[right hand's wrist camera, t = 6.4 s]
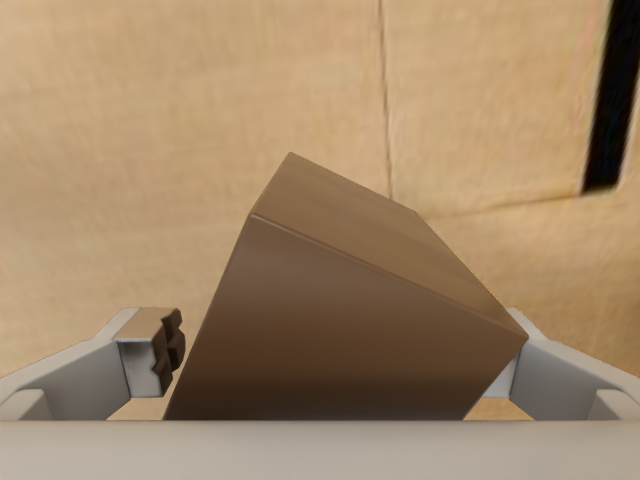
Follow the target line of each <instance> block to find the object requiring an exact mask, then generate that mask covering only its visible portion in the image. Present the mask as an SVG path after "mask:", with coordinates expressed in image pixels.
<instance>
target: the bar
mask: <svg viewBox="0 0 640 480" xmlns="http://www.w3.org/2000/svg"><path fill="white" fill-rule="evenodd" d="M528 339H529V335H528V333H527V332H526V331H525V330H524V329H523V328H522V327H521V326H520V325H519V324H518V322H517V321H516V320H515V319H514V318H513V317H512V316H511V315H510V314H509V313H508V312H507V310H506V309H505V308H504V307H503V306H502V305H501V304H500V303H499V302H498V301H497V300H496V298H495V297H494V296H493V295H492V294H491V293H490V292H489V291H488V290H487V289H486V288H485V287H484V285H483V284H482V283H481V282H480V281H479V280H478V279H477V278H476V277H475V276H474V275H473V273H472V272H471V271H470V270H469V269H468V268H467V267H466V266H465V265H464V264H463V263H462V262H461V260H460V259H459V258H458V257H457V256H456V255H455V254H454V253H453V252H452V251H451V250H450V248H449V247H448V246H447V245H446V244H445V243H444V242H443V241H442V240H441V239H440V238H439V237H438V235H437V234H436V233H435V232H434V231H433V230H432V229H431V228H430V227H429V226H428V225H427V223H426V222H425V221H424V220H423V219H422V218H421V217H420V216H419V215H418V214H417V213H416V212H415V211H413V210H411V209H409V208H407V207H405V206H403V205H401V204H399V203H396V202H394V201H392V200H390V199H388V198H386V197H384V196H382V195H380V194H378V193H376V192H374V191H371V190H369V189H367V188H365V187H363V186H361V185H359V184H357V183H355V182H353V181H351V180H349V179H346V178H344V177H342V176H340V175H338V174H336V173H334V172H332V171H330V170H328V169H326V168H324V167H321V166H319V165H317V164H315V163H313V162H311V161H309V160H307V159H305V158H303V157H301V156H299V155H296V154H294V153H292V152H289V153H288V154H287V156H286V157H285V159H284V161H283V162H282V164H281V165H280V167H279V168H278V170H277V171H276V173H275V174H274V176H273V177H272V179H271V180H270V182H269V183H268V185H267V186H266V188H265V189H264V191H263V193H262V194H261V196H260V197H259V199H258V200H257V202H256V203H255V205H254V206H253V208H252V209H251V211H250V212H249V214H248V216H247V218H246V221H245V223H244V225H243V228H242V230H241V233H240V235H239V237H238V240H237V242H236V244H235V247H234V249H233V252H232V254H231V256H230V259H229V261H228V263H227V266H226V268H225V271H224V273H223V275H222V278H221V280H220V283H219V285H218V287H217V290H216V292H215V294H214V297H213V299H212V302H211V304H210V306H209V309H208V311H207V313H206V316H205V318H204V321H203V323H202V325H201V328H200V330H199V332H198V335H197V337H196V340H195V342H194V344H193V347H192V349H191V351H190V354H189V356H188V359H187V361H186V363H185V366H184V368H183V370H182V373H181V375H180V378H179V380H178V382H177V385H176V387H175V389H174V392H173V394H172V397H171V399H170V401H169V404H168V406H167V408H166V411H165V413H164V416H163V418H162V420H256V421H303V420H463V419H464V418H465V417H466V415H467V414H468V413H469V412H470V410H471V409H472V408H473V407H474V406H475V404H476V403H477V402H478V401H479V399H480V398H481V397H482V396H483V394H484V393H485V392H486V391H487V390H488V388H489V387H490V386H491V385H492V383H493V382H494V381H495V380H496V379H497V377H498V376H499V375H500V374H501V372H502V371H503V370H504V369H505V367H506V366H507V365H508V364H509V363H510V361H511V360H512V359H513V358H514V356H515V355H516V354H517V353H518V352H519V350H520V349H521V348H522V347H523V345H524V344H525V343H526V342H527V340H528Z"/></svg>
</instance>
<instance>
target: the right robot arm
mask: <svg viewBox="0 0 640 480" xmlns="http://www.w3.org/2000/svg"><path fill="white" fill-rule="evenodd" d="M504 308H505V309H506V310H507V312H508V313H509V314H510V315H511V316H512V317H513V318H514V319H515V320H516V321H517V322H518V324H519V325H520V326H521V327H522V328H523V329H524V330H525V331H526V332H527V333H528V335H529V339H528V340H527V342H526V343H525V344H524V345H523V347H522V348H521V349H520V350H519V352H518V353H517V354H516V355H515V356H514V358H513V359H512V360H511V361H510V363H509V364H508V365H507V366H506V367H505V369H504V370H503V371H502V372H501V374H500V375H499V376H498V377H497V379H496V380H495V381H494V382H493V383H492V385H491V386H490V387H489V388H488V390H487V391H486V392H485V393H484V394H483V396H482V397H485V398H510V399H509V400H510V401H512V402H513V403H514V404H516V405H517V406H518V407H519V408H521V409H522V410H523V411H524V412H526V413H527V414H528V415H529V416H531V417H532V418H533V419H535V420H303V421H256V420H106V419H107V418H108V417H109V416H111V415H112V414H113V413H114V412H116V411H117V410H118V409H120V408H121V407H122V406H123V405H125V404H126V403H127V402H128V401H130V400H131V399H130V398H154V397H163V396H164V395H165V393H166V391H167V389H168V387H169V385H170V384H171V382H172V380H173V376H172V372H173V371H175V370H176V369H178V368H179V367H180V365H181V363H182V361H183V358H184V354H185V335H184V334H183V333H182V332H181V331H180V330H179V328H178V327H179V326H180V324H181V323H182V317H181V312H180V311H179V310H178V308H145V307H144V308H142V307H127V308H122V309H121V310H120V311H119V312H118V313H117V314H116V315H115V316H114V317H113V318H112V319H111V320H110V321H109V322H108V323H107V324H106V325H105V326H104V327H103V328H102V329H101V330H100V331H99V332H98V333H97V334H96V335H95V336H94V337H93V338H92V339H91V340H84V341H82V342H79V343H77V344H75V345H73V346H70V347H68V348H66V349H64V350H61V351H59V352H57V353H55V354H52V355H50V356H48V357H46V358H43V359H41V360H39V361H37V362H34V363H32V364H30V365H28V366H25V367H23V368H21V369H19V370H16V371H14V372H12V373H10V374H8V375H5V376H3V377H1V378H0V480H640V378H639V377H637V376H635V375H632V374H630V373H628V372H626V371H623V370H621V369H619V368H617V367H614V366H612V365H610V364H608V363H605V362H603V361H601V360H599V359H596V358H594V357H592V356H590V355H588V354H585V353H583V352H581V351H579V350H576V349H574V348H572V347H570V346H567V345H565V344H563V343H561V342H558V341H556V340H549V339H548V338H547V337H546V336H545V335H544V334H543V333H542V332H541V331H540V330H539V329H538V328H537V327H536V326H535V325H534V324H533V323H532V322H531V321H530V320H529V319H528V318H527V317H526V316H525V315H524V314H523V313H522V312H521V311H520V310H519V309H518V308H515V307H504Z"/></svg>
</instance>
